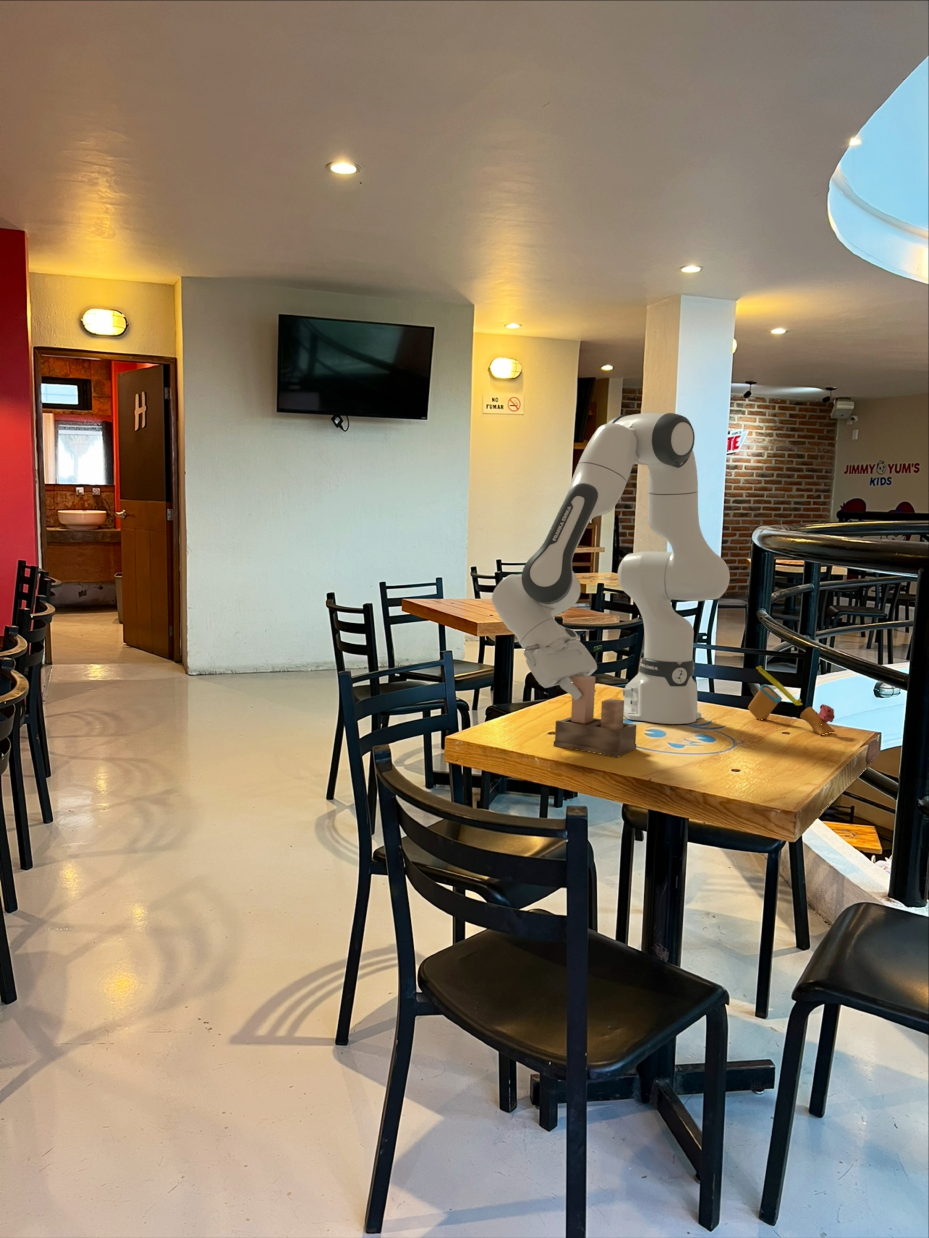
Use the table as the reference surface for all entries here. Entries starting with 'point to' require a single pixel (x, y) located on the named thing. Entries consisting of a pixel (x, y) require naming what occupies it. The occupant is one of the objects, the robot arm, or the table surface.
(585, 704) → the pink rectangular block
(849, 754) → the table surface
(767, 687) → the toy
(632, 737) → the box
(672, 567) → the robot arm
